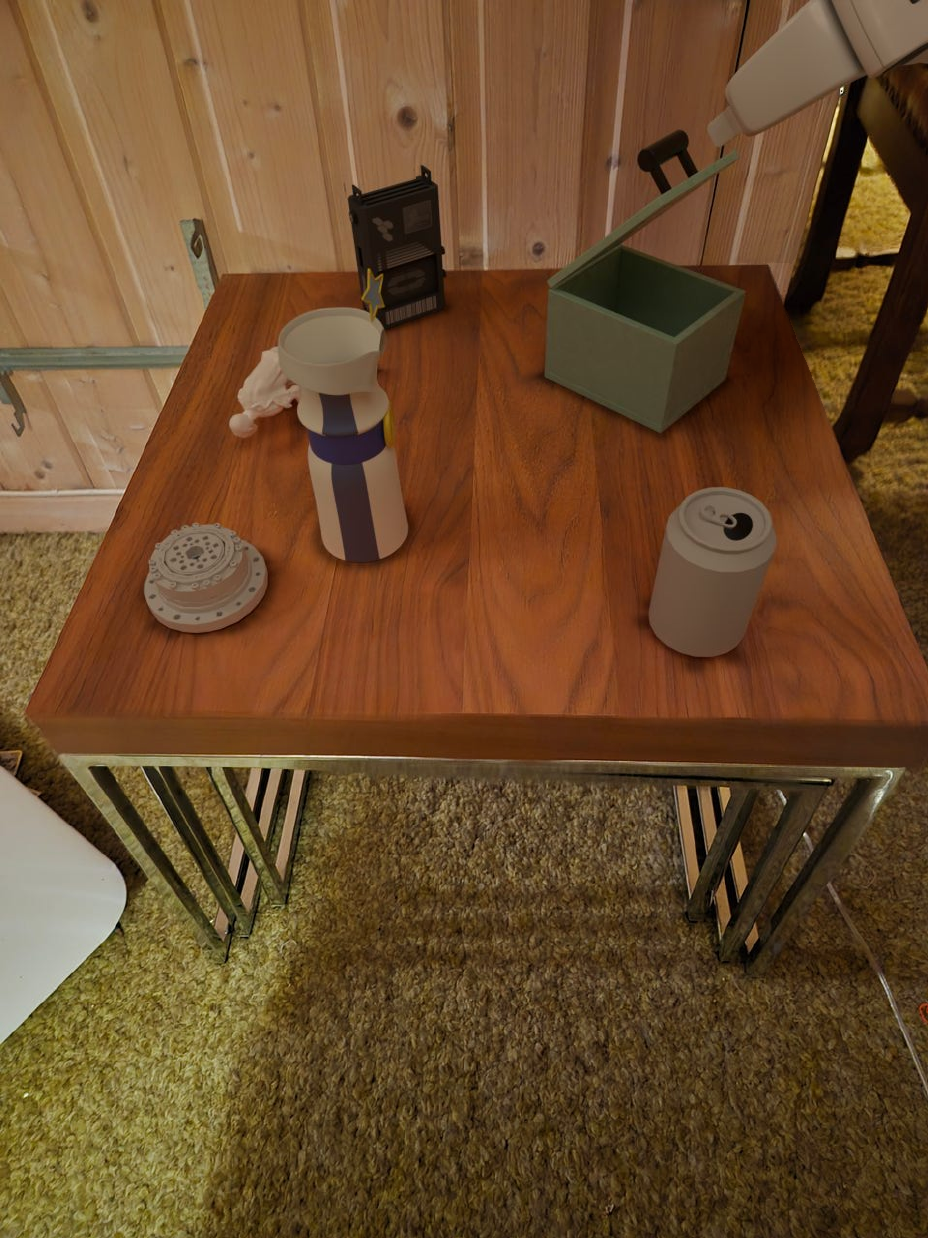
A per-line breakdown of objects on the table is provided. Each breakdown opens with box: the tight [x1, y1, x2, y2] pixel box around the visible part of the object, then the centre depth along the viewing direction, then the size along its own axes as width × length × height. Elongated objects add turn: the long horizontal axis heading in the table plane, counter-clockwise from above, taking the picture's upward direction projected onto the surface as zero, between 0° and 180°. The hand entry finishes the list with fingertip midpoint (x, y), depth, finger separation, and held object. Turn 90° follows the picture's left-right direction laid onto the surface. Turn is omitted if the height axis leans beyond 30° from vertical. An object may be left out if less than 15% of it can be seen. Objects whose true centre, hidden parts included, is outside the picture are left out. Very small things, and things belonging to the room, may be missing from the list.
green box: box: [544, 243, 747, 434], centre depth 83 cm, size 15×12×10 cm
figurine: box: [228, 345, 302, 439], centre depth 84 cm, size 7×8×18 cm
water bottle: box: [277, 269, 409, 564], centre depth 65 cm, size 8×9×25 cm
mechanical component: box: [143, 522, 269, 634], centre depth 69 cm, size 10×4×10 cm
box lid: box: [546, 129, 740, 289], centre depth 75 cm, size 15×12×5 cm
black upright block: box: [347, 164, 447, 331], centre depth 91 cm, size 10×5×15 cm, turn 120°
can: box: [648, 486, 778, 658], centre depth 61 cm, size 8×8×12 cm
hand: (748, 114), depth 62 cm, fingers open, 8 cm apart
